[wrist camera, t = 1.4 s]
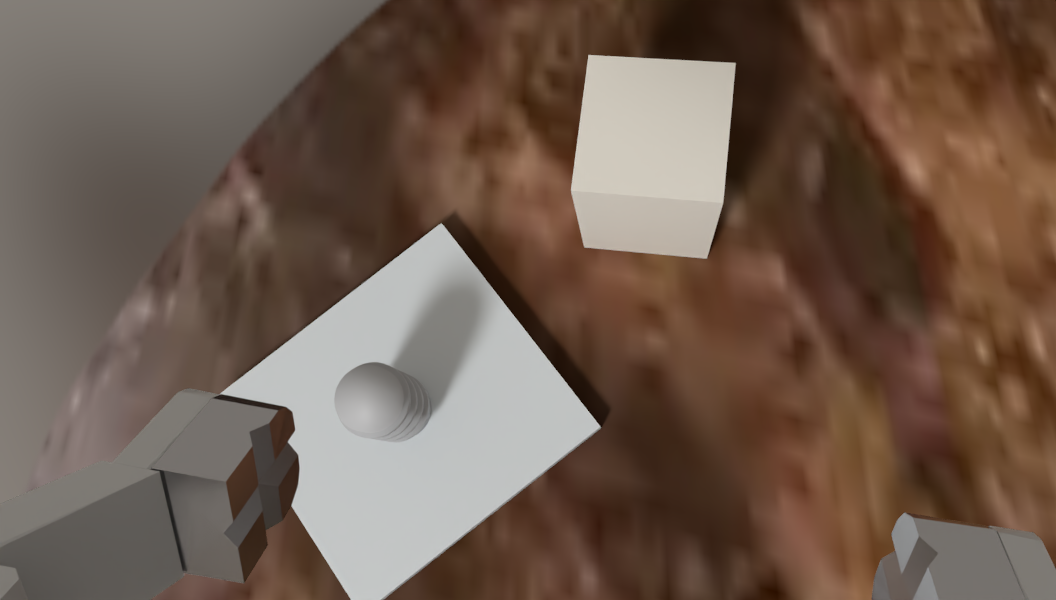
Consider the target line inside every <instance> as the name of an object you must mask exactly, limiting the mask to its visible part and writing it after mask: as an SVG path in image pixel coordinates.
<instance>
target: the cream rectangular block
mask: <svg viewBox="0 0 1056 600" xmlns="http://www.w3.org/2000/svg"><path fill="white" fill-rule="evenodd" d="M735 66H736V63H727V62H708V61H690V60H671V59H652V58H633V57H614V56H596V55H589V56H588V64H587V71H586V79H585V87H584V94H583V102H582V110H581V117H580V125H579V133H578V140H577V148H576V156H575V163H574V171H573V179H572V186H571V193H572V197H573V202H574V206H575V210H576V214H577V218H578V223H579V227H580V231H581V235H582V240H583V244H584V247H585V248H596V249H607V250H618V251H629V252H639V253H650V254H661V255H672V256H683V257H694V258H705V259H707V256H708V253H709V250H710V246H711V243H712V239H713V236H714V233H715V229H716V226H717V223H718V219H719V216H720V212H721V209H722V206H723V201H724V189H725V178H726V167H727V156H728V145H729V133H730V122H731V111H732V100H733V89H734V77H735Z"/></svg>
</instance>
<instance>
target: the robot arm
mask: <svg viewBox="0 0 1056 600" xmlns="http://www.w3.org/2000/svg"><path fill="white" fill-rule="evenodd" d="M294 432H295V424H294V418H293V412H292V411H291V410H290V409H288V408H287V407H284V406H279V405H274V404H269V403H264V402H259V401H254V400H249V399H244V398H239V397H233V396H228V395H223V394H221V395H219V394H214V393H209V392H204V391H199V390H194V389H189V388H188V389H185V390H183V391H180V392H178V393H177V394H176V395H175V396H174V397H173V398H172V399H171V400H170V401H169V402H168V403H167V404H166V405H165V406H164V408H163V409H162V410H161V411H160V412H159V413H158V414H157V415H156V416H155V417H154V418H153V419H152V420H151V421H150V422H149V423H148V424H147V426H146V427H145V428H144V429H143V430H142V431H141V432H140V433H139V434H138V435H137V436H136V437H135V438H134V439H133V440H132V441H131V443H130V444H129V445H128V446H127V447H126V448H125V449H124V450H123V451H122V452H121V453H120V454H119V455H118V456H117V457H116V458H115V459H114V461H113V462H106V461H100V462H97V463H95V464H93V465H90V466H88V467H85V468H83V469H81V470H78V471H76V472H74V473H71V474H69V475H67V476H64V477H62V478H59V479H57V480H55V481H52V482H50V483H48V484H45V485H43V486H41V487H38V488H36V489H34V490H31V491H29V492H26V493H24V494H22V495H19V496H17V497H15V498H13V499H10V500H8V501H5V502H3V503H1V504H0V600H150V599H152V598H153V597H155V596H156V595H158V594H159V593H161V592H162V591H164V590H165V589H166V588H168V587H169V586H171V585H172V584H174V583H175V582H177V581H178V580H180V579H181V578H182V577H184V573H187V574H193V575H199V576H205V577H211V578H216V579H222V580H228V581H234V582H240V583H245V581H246V580H247V578H248V576H249V575H250V573H251V571H252V570H253V568H254V567H255V565H256V563H257V562H258V560H259V558H260V557H261V555H262V554H263V552H264V550H265V549H266V547H267V545H268V544H267V537H266V530H267V529H269V528H270V527H272V526H274V525H276V524H277V523H279V522H281V521H283V519H284V517H285V516H286V514H287V512H288V510H289V509H290V507H291V505H292V502H293V499H294V496H295V493H296V490H297V487H298V481H299V470H300V467H299V457H298V454H297V453H296V451H295V450H294V449H293V448H292V447H291V445H290V444H289V443H288V441H289V439H290V438H291V436H292V435H293V433H294ZM891 535H892V539H893V542H894V546H895V550H896V551H894V552H892V553H891V554H889V555H887V556H886V557H884V558H882V559H881V561H880V564H879V566H878V569H877V572H876V575H875V578H874V585H873V593H872V600H1056V569H1055V567H1054V565H1053V563H1052V561H1051V559H1050V556H1049V554H1048V552H1047V550H1046V548H1045V546H1044V544H1043V542H1042V540H1041V539H1040V538H1039V537H1038V536H1037V535H1035V534H1034V533H1033V532H1027V531H1021V530H1014V529H1008V528H1001V527H995V526H988V527H987V526H984V525H978V524H972V523H966V522H960V521H954V520H947V519H941V518H935V517H929V516H923V515H917V514H911V513H905V512H904V514H903V515H902V516H901V517H900V518H899V519H898V520H897V522H896V525H895V527H894V529H893V532H892V534H891Z"/></svg>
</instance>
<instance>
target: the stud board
mask: <svg viewBox="0 0 1056 600" xmlns="http://www.w3.org/2000/svg"><path fill="white" fill-rule="evenodd" d="M220 394H223V395H228V396H233V397H239V398H244V399H249V400H254V401H259V402H264V403H269V404H274V405H279V406H284V407H287V408H288V409H290V410H291V411H292V412H293V418H294V424H295V432H294V433H293V435H292V436H291V438H290V439H289V441H288V443H289V444H290V445H291V447H292V448H293V449H294V450H295V451H296V453H297V454H298V457H299V467H300V470H299V481H298V487H297V490H296V493H295V496H294V499H293V502H292V505H291V506H292V507H293V509H294V511H295V512H296V514H297V515H298V517H299V518H300V520H301V522H302V523H303V525H304V526H305V528H306V530H307V531H308V533H309V534H310V536H311V537H312V539H313V541H314V542H315V544H316V545H317V547H318V548H319V550H320V552H321V553H322V555H323V556H324V558H325V559H326V561H327V563H328V564H329V566H330V567H331V569H332V570H333V572H334V574H335V575H336V577H337V578H338V580H339V581H340V583H341V585H342V586H343V588H344V589H345V591H346V592H347V594H348V596H349V597H350V599H351V600H383V599H385V598H386V597H387V596H389V595H390V594H391V593H392V592H394V591H395V590H396V589H397V588H399V587H400V586H401V585H403V584H404V583H405V582H406V581H408V580H409V579H410V578H411V577H413V576H414V575H415V574H416V573H418V572H419V571H420V570H422V569H423V568H424V567H425V566H427V565H428V564H429V563H430V562H432V561H433V560H434V559H436V558H437V557H438V556H439V555H441V554H442V553H443V552H444V551H446V550H447V549H448V548H450V547H451V546H452V545H453V544H455V543H456V542H457V541H458V540H460V539H461V538H462V537H464V536H465V535H466V534H467V533H469V532H470V531H471V530H472V529H474V528H475V527H476V526H477V525H479V524H480V523H481V522H483V521H484V520H485V519H486V518H488V517H489V516H490V515H491V514H493V513H494V512H495V511H497V510H498V509H499V508H500V507H502V506H503V505H504V504H505V503H507V502H508V501H509V500H511V499H512V498H513V497H514V496H516V495H517V494H518V493H519V492H521V491H522V490H523V489H524V488H526V487H527V486H528V485H530V484H531V483H532V482H533V481H535V480H536V479H537V478H538V477H540V476H541V475H542V474H544V473H545V472H546V471H547V470H549V469H550V468H551V467H552V466H554V465H555V464H556V463H558V462H559V461H560V460H561V459H563V458H564V457H565V456H566V455H568V454H569V453H570V452H572V451H573V450H574V449H575V448H577V447H578V446H579V445H580V444H582V443H583V442H584V441H585V440H587V439H588V438H589V437H591V436H592V435H593V434H594V433H596V432H597V431H598V430H599V429H601V427H600V425H599V424H598V423H597V422H596V420H595V419H594V418H593V416H592V415H591V414H590V413H589V411H588V410H587V409H586V407H585V406H584V405H583V404H582V402H581V401H580V400H579V398H578V397H577V396H576V395H575V393H574V392H573V391H572V390H571V388H570V387H569V386H568V384H567V383H566V382H565V381H564V379H563V378H562V377H561V375H560V374H559V373H558V372H557V370H556V369H555V368H554V366H553V365H552V364H551V363H550V361H549V360H548V359H547V357H546V356H545V355H544V354H543V352H542V351H541V350H540V348H539V347H538V346H537V345H536V343H535V342H534V341H533V340H532V338H531V337H530V336H529V334H528V333H527V332H526V331H525V329H524V328H523V327H522V325H521V324H520V323H519V322H518V320H517V319H516V318H515V316H514V315H513V314H512V313H511V311H510V310H509V309H508V307H507V306H506V305H505V304H504V302H503V301H502V300H501V298H500V297H499V296H498V295H497V293H496V292H495V291H494V290H493V288H492V287H491V286H490V284H489V283H488V282H487V281H486V279H485V278H484V277H483V275H482V274H481V273H480V272H479V270H478V269H477V268H476V266H475V265H474V264H473V263H472V261H471V260H470V259H469V257H468V256H467V255H466V254H465V252H464V251H463V250H462V248H461V247H460V246H459V245H458V243H457V242H456V241H455V240H454V238H453V237H452V236H451V234H450V233H449V232H448V231H447V229H446V228H445V227H444V225H443V224H442V223H441V224H439V225H438V226H437V227H435V228H434V229H433V230H432V231H430V232H429V233H428V234H426V235H425V236H424V237H422V238H421V239H420V240H419V241H417V242H416V243H415V244H413V245H412V246H411V247H410V248H408V249H407V250H406V251H404V252H403V253H402V254H400V255H399V256H398V257H397V258H395V259H394V260H393V261H391V262H390V263H389V264H387V265H386V266H385V267H384V268H382V269H381V270H380V271H378V272H377V273H376V274H375V275H373V276H372V277H371V278H369V279H368V280H367V281H365V282H364V283H363V284H362V285H360V286H359V287H358V288H356V289H355V290H354V291H352V292H351V293H350V294H349V295H347V296H346V297H345V298H343V299H342V300H341V301H340V302H338V303H337V304H336V305H334V306H333V307H332V308H330V309H329V310H328V311H327V312H325V313H324V314H323V315H321V316H320V317H319V318H317V319H316V320H315V321H314V322H312V323H311V324H310V325H308V326H307V327H306V328H305V329H303V330H302V331H301V332H299V333H298V334H297V335H295V336H294V337H293V338H292V339H290V340H289V341H288V342H286V343H285V344H284V345H282V346H281V347H280V348H279V349H277V350H276V351H275V352H273V353H272V354H271V355H270V356H268V357H267V358H266V359H264V360H263V361H262V362H260V363H259V364H258V365H257V366H255V367H254V368H253V369H251V370H250V371H249V372H247V373H246V374H245V375H244V376H242V377H241V378H240V379H238V380H237V381H236V382H235V383H233V384H232V385H231V386H229V387H228V388H227V389H225V390H224V391H223V392H222V393H220Z"/></svg>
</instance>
